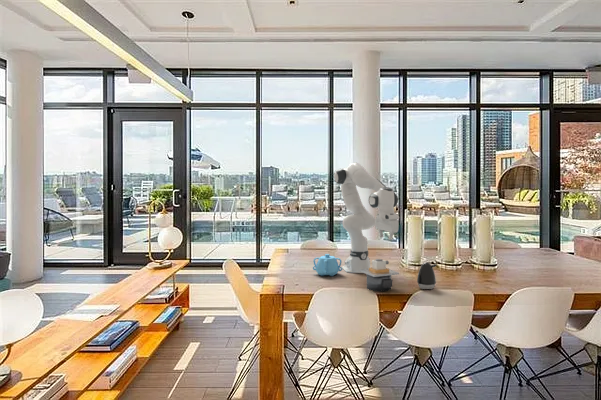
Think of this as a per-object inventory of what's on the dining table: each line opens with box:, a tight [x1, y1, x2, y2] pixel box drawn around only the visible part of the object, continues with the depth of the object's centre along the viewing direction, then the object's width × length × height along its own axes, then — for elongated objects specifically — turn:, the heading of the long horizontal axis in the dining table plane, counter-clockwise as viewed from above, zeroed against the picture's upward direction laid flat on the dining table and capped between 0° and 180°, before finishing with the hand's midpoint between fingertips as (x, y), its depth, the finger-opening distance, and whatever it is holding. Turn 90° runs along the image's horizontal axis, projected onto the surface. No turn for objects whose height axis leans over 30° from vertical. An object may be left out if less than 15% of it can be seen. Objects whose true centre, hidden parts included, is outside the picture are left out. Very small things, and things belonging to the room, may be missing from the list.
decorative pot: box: [312, 253, 343, 277], centre depth 282 cm, size 16×16×14 cm
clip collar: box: [369, 267, 390, 273], centre depth 245 cm, size 8×9×2 cm
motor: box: [360, 268, 400, 292], centre depth 244 cm, size 18×16×10 cm
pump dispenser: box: [416, 261, 437, 290], centre depth 243 cm, size 10×10×15 cm
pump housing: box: [371, 258, 390, 270], centre depth 245 cm, size 5×9×7 cm, turn 111°
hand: (385, 238), depth 252 cm, fingers open, 8 cm apart
